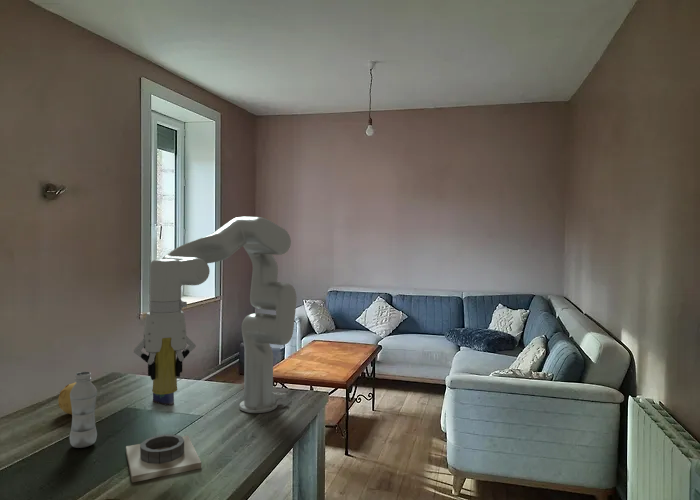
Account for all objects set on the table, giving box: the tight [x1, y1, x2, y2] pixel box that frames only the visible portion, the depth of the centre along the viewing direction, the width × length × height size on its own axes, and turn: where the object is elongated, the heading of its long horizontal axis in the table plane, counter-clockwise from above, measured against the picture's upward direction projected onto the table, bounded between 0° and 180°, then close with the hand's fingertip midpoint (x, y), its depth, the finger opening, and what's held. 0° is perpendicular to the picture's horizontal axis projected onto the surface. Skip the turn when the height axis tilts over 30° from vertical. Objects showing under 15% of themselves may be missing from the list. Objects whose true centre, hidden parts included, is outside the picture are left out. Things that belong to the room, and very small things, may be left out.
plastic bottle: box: [68, 371, 98, 449], centre depth 136 cm, size 6×7×20 cm
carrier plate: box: [125, 433, 202, 483], centre depth 129 cm, size 16×18×4 cm
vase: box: [151, 338, 178, 395], centre depth 129 cm, size 6×6×14 cm
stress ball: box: [57, 382, 76, 416], centre depth 159 cm, size 10×10×10 cm
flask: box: [152, 392, 175, 406], centre depth 171 cm, size 9×3×11 cm, turn 61°
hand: (165, 376), depth 129 cm, fingers closed on vase, 5 cm apart
